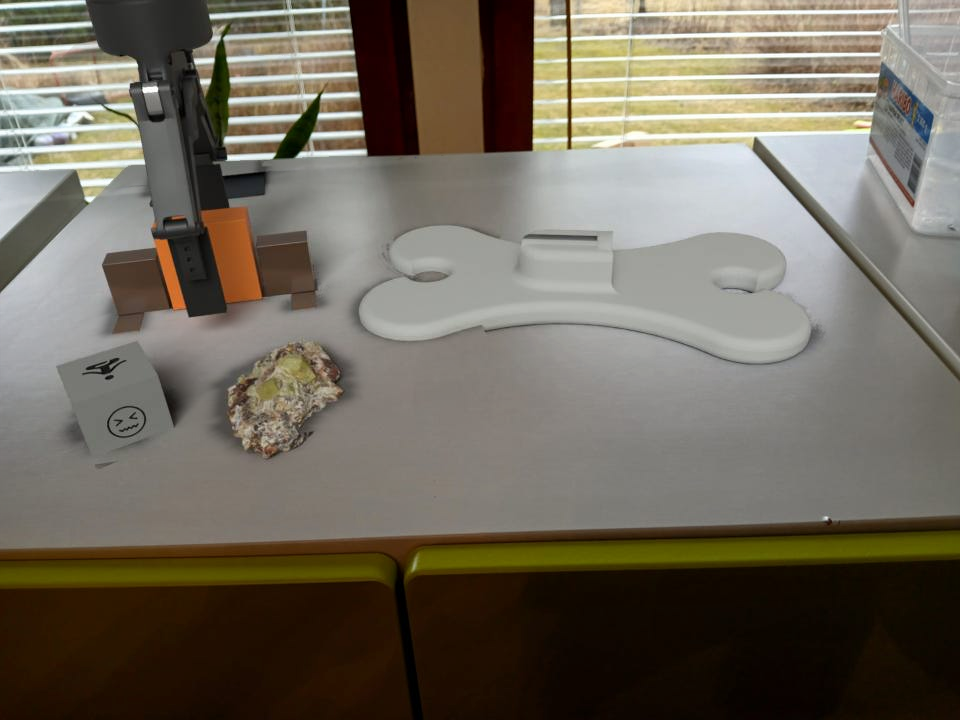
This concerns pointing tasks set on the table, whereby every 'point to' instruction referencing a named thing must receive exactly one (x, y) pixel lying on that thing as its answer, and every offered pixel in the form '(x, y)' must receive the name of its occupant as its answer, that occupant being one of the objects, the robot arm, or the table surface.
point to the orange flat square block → (222, 256)
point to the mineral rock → (282, 397)
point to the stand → (146, 290)
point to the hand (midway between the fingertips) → (214, 272)
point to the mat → (243, 185)
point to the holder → (593, 289)
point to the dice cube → (115, 398)
